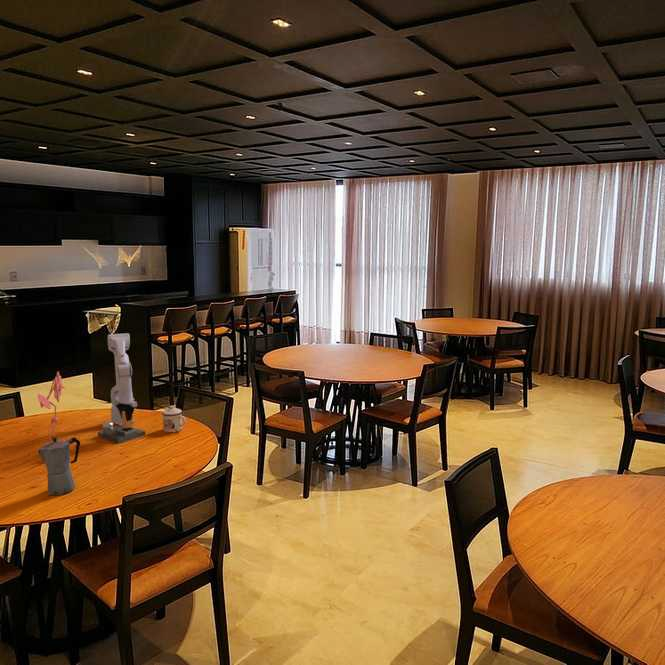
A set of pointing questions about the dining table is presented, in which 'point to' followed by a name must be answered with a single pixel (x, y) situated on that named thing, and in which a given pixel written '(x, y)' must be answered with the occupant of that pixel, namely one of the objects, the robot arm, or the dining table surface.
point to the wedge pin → (125, 422)
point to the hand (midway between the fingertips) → (126, 419)
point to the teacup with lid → (172, 419)
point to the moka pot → (59, 465)
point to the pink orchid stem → (47, 403)
